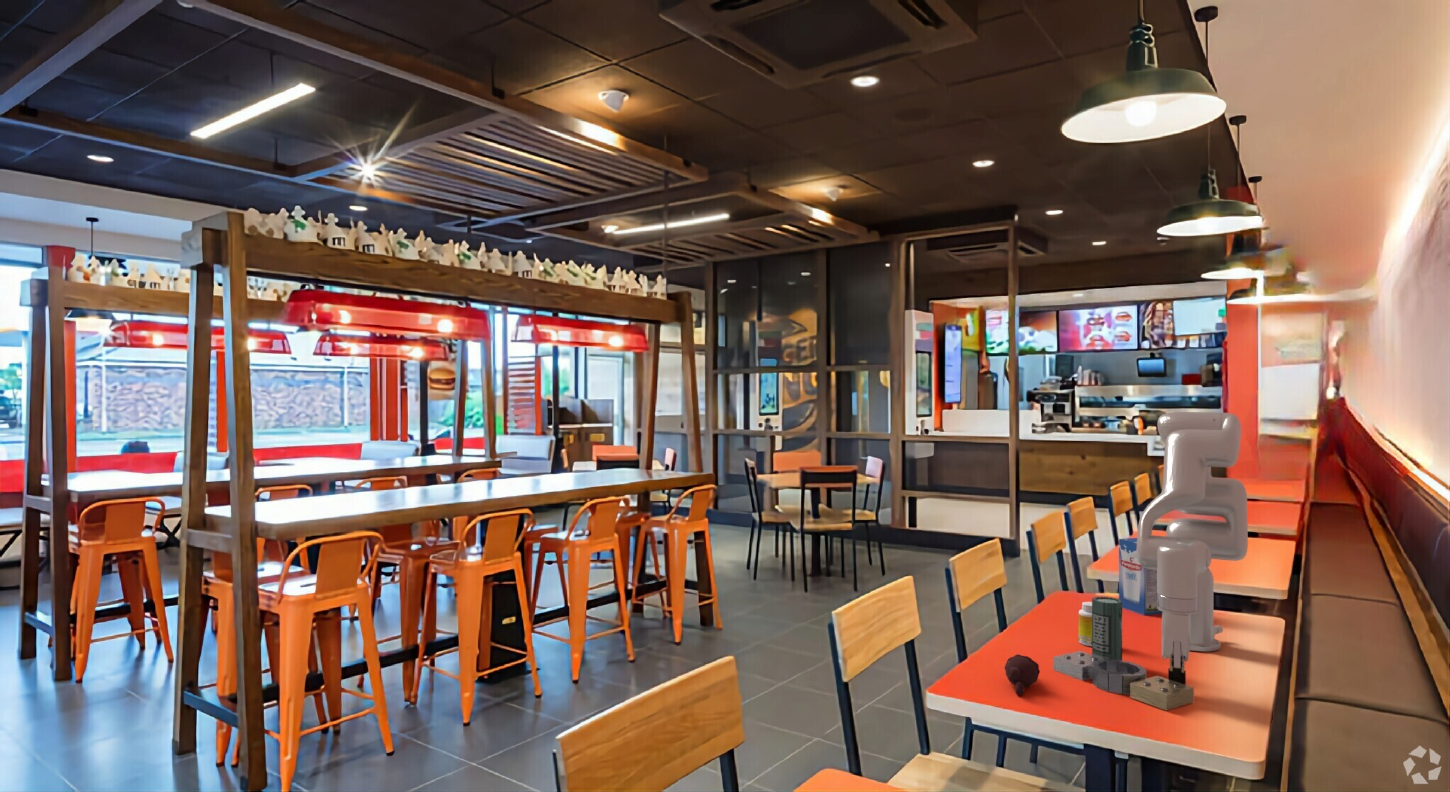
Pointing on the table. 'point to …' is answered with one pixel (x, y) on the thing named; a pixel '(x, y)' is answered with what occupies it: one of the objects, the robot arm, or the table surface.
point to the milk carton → (1136, 581)
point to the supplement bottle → (1085, 624)
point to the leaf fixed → (1100, 671)
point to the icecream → (1021, 672)
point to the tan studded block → (1161, 692)
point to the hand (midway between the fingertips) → (1176, 688)
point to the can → (1107, 628)
